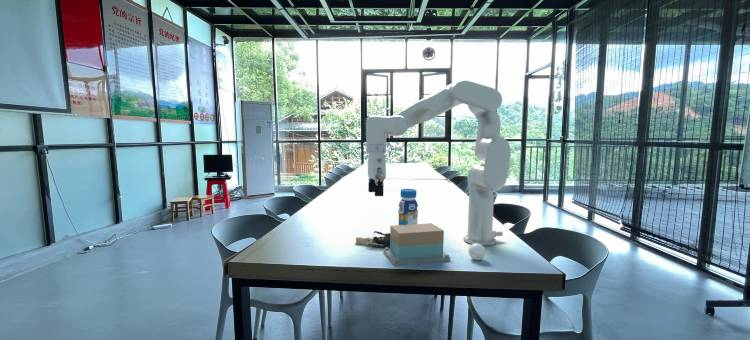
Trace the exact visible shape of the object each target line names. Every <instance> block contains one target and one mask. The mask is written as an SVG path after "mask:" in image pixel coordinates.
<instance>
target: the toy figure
mask: <svg viewBox="0 0 750 340" xmlns="http://www.w3.org/2000/svg"><path fill="white" fill-rule="evenodd" d="M373 234H378V235H381V236H379V237H378V236H372V237H368V236H367V237H362V236H356V237H355V244H356V245H357V244H358V245H365V246H369V244H370V245H371V244H375V245H376V244H377V245H379V246H377V245H376V246H375V245H371V247H373V248H378V249H379V248H381V247H384V248H386V247H387V248H390V232H388V233H383V232H382V231H377V230H374V232H373Z"/></svg>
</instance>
